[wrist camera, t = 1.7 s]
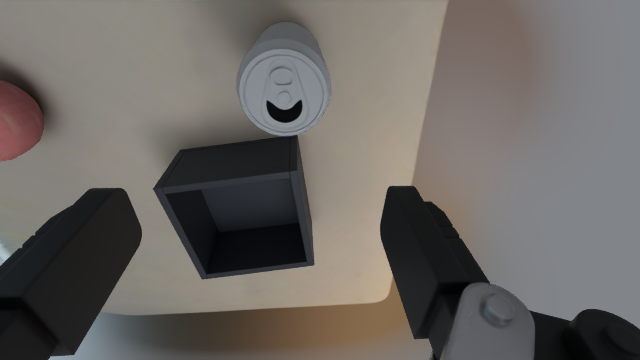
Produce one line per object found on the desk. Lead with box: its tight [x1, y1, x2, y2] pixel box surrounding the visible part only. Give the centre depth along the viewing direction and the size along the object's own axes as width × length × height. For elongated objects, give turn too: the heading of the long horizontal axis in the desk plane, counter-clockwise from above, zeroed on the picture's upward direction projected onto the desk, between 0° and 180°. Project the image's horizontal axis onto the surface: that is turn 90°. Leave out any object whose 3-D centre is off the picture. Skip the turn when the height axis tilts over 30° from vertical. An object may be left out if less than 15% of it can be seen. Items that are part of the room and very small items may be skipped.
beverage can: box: [237, 22, 331, 136], centre depth 23 cm, size 6×6×12 cm
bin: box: [153, 135, 314, 279], centre depth 34 cm, size 14×14×8 cm
